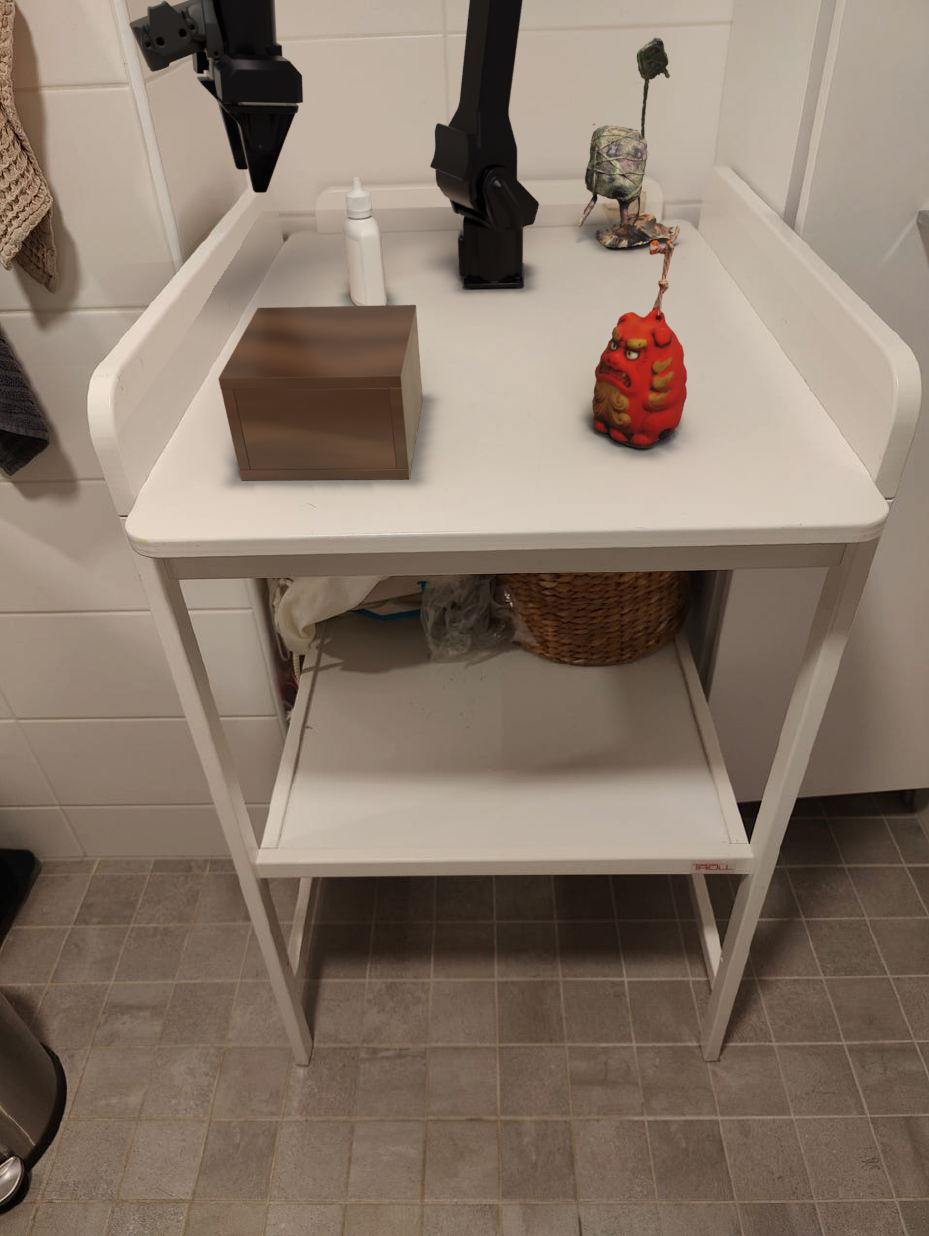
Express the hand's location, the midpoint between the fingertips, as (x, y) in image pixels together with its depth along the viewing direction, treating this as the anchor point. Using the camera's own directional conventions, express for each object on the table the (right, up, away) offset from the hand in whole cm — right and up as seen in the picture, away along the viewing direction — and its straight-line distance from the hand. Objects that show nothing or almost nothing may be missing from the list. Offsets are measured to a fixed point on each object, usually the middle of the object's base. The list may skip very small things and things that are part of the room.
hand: (250, 180), depth 81 cm
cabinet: (+9, -24, -7) cm, 27 cm away
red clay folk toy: (+33, -24, -8) cm, 41 cm away
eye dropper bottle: (+9, -6, +15) cm, 18 cm away
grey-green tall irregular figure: (+38, +6, +27) cm, 47 cm away
